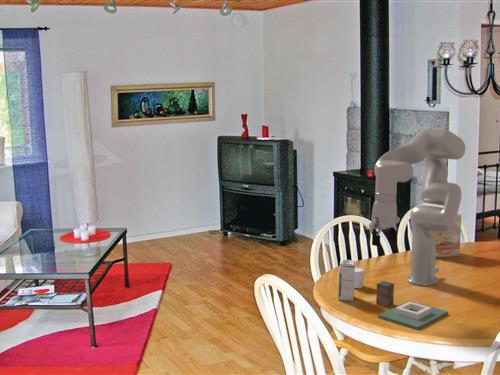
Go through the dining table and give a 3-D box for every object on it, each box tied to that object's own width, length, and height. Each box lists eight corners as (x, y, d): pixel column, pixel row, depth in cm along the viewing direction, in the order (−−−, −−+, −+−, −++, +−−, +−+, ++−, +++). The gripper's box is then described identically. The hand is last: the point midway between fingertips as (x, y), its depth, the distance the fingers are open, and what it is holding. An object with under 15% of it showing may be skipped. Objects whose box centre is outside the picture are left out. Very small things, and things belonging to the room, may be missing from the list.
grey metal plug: (383, 301, 252) (383, 280, 251) (393, 304, 249) (394, 283, 248) (376, 304, 249) (376, 283, 248) (386, 307, 246) (387, 286, 245)
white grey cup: (363, 289, 265) (364, 272, 264) (346, 288, 267) (346, 271, 266) (364, 284, 272) (364, 267, 271) (347, 283, 273) (347, 266, 272)
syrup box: (338, 295, 259) (339, 259, 256) (354, 296, 258) (355, 259, 255) (338, 300, 253) (338, 263, 251) (354, 301, 252) (354, 264, 250)
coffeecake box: (430, 258, 307) (432, 216, 303) (423, 254, 314) (424, 213, 310) (460, 255, 311) (462, 214, 307) (451, 251, 317) (453, 211, 314)
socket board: (409, 303, 250) (409, 295, 249) (448, 314, 239) (448, 306, 238) (378, 317, 236) (378, 309, 235) (417, 329, 225) (418, 321, 224)
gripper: (391, 193, 251) (389, 237, 254) (362, 199, 240) (361, 245, 243) (408, 196, 246) (406, 241, 249) (379, 202, 234) (378, 249, 237)
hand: (384, 243), depth 246 cm, fingers open, 9 cm apart
